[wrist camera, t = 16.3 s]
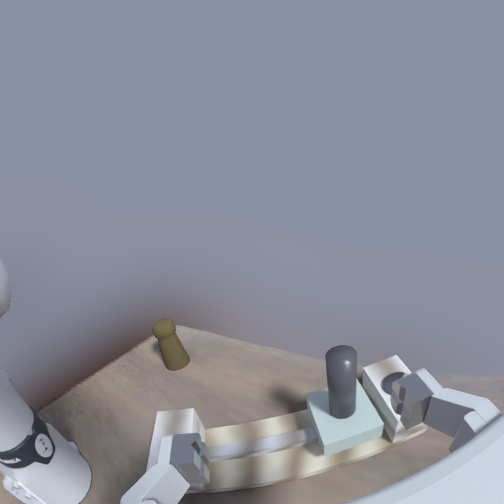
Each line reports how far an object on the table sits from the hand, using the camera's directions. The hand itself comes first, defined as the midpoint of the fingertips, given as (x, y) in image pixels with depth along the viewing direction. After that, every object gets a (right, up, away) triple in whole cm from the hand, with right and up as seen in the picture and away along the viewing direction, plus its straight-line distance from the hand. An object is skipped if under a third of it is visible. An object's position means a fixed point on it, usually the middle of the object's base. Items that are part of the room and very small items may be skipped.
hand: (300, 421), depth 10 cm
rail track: (+4, -22, +24) cm, 33 cm away
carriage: (+11, -18, +24) cm, 32 cm away
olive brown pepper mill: (-19, -19, +51) cm, 57 cm away
